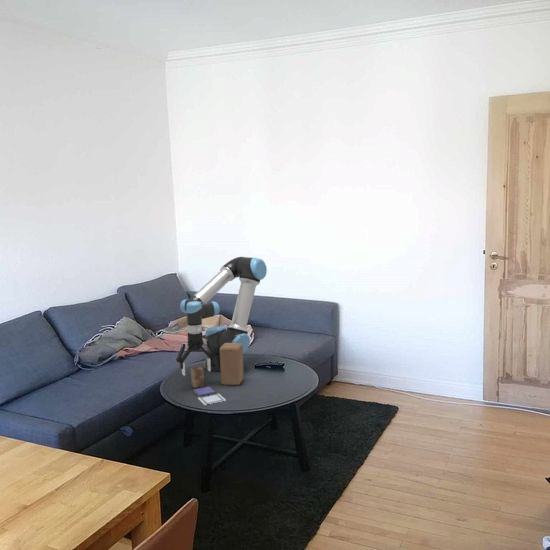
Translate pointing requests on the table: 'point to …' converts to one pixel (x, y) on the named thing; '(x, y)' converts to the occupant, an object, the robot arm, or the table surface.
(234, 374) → the wooden block
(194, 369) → the stamp
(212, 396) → the print card
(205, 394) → the ink pad
